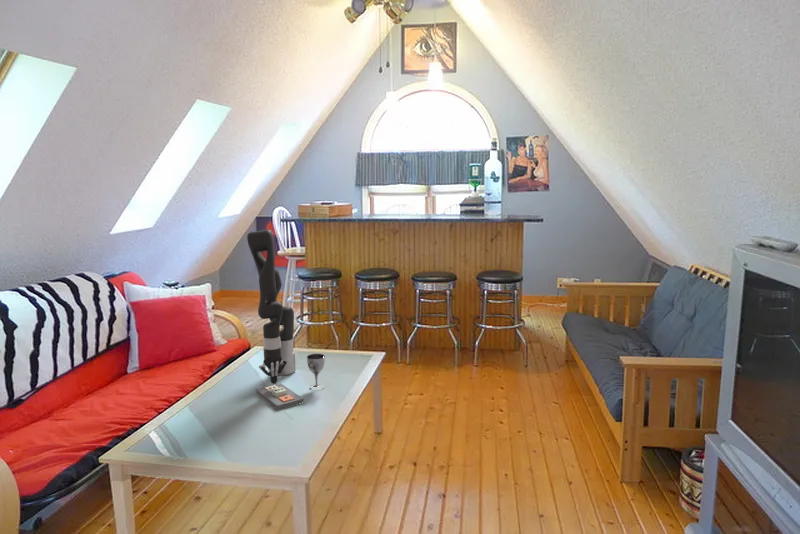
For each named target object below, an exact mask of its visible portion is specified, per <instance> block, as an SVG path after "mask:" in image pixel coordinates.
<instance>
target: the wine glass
mask: <svg viewBox="0 0 800 534" xmlns="http://www.w3.org/2000/svg"><path fill="white" fill-rule="evenodd" d="M325 360H326V356H325V355H324V354H322V353H312V354H308V355H307V356H306V363H307V367H308V370H309V371H310V372H311V373H312V374H313V376H314V379H315V384H313V385H314V386H313V387H319V385H320V384H318V377H319V375H320V373H321V372H322V370H323V369H324V367H325V362H326V361H325Z"/></svg>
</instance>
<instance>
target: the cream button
mask: <svg viewBox="0 0 800 534" xmlns="http://www.w3.org/2000/svg"><path fill="white" fill-rule="evenodd" d="M272 385H273V386H271V385H268V386H269V387H267V386H264V387H265V390H267V391H268V392H272V389H275V388H278V387H277V386H276V385H275V384H272Z"/></svg>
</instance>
